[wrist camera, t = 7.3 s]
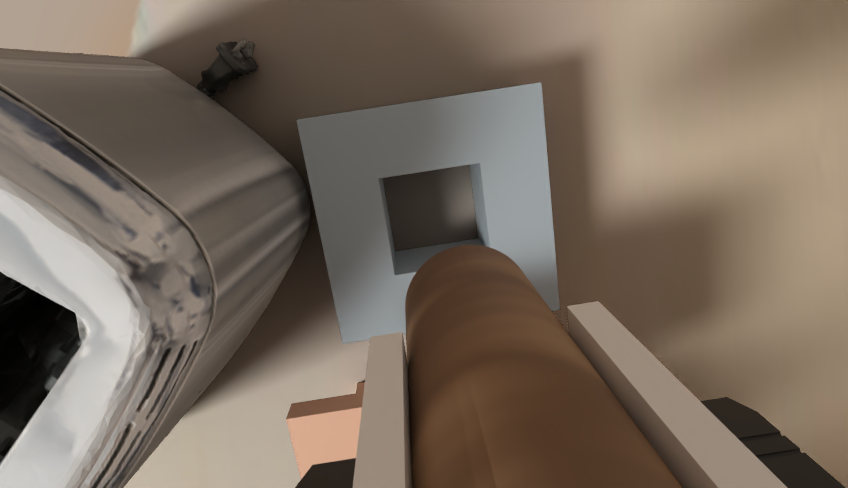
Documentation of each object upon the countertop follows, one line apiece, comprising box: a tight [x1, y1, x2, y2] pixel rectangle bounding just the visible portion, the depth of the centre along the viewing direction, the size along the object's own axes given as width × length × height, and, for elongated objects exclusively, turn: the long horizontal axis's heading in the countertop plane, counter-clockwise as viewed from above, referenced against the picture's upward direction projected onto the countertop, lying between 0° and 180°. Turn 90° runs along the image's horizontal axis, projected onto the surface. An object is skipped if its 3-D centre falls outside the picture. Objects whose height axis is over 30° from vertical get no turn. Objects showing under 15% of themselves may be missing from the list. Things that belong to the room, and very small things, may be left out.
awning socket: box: [286, 82, 560, 479], centre depth 28 cm, size 16×20×13 cm
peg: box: [405, 245, 683, 488], centre depth 9 cm, size 4×4×15 cm
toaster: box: [0, 38, 310, 488], centre depth 24 cm, size 17×30×19 cm, turn 140°
